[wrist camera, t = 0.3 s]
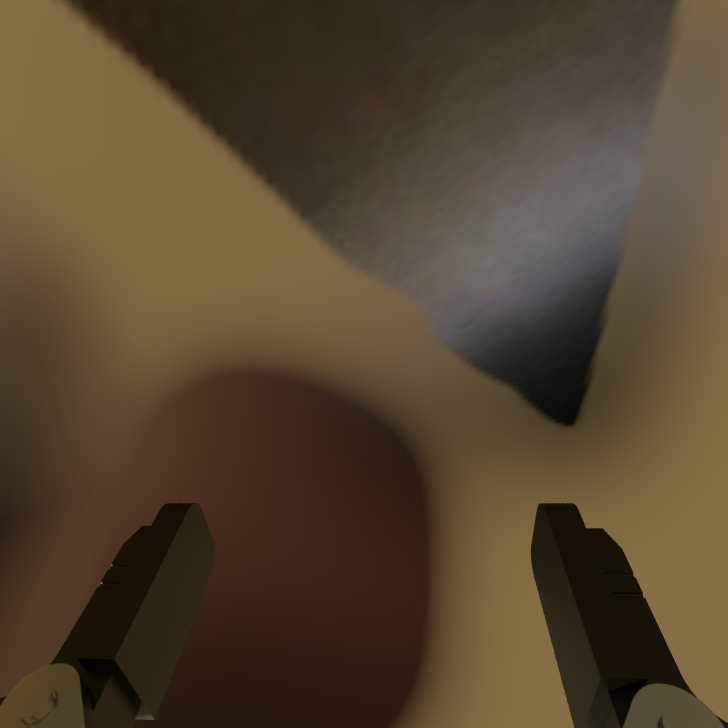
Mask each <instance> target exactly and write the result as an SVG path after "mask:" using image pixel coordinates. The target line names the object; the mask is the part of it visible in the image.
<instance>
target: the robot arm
mask: <svg viewBox="0 0 728 728" xmlns="http://www.w3.org/2000/svg"><path fill="white" fill-rule="evenodd" d="M214 561H215V544H214V541H213V538H212V535H211V533H210V530H209V527H208V524H207V522H206V519H205V517H204V514H203V511H202V508H201V506H200V505H199V504H198V503H167V504H165V505H164V506H162V508H161V509H160V511H159V513H158V514H157V516H156V518H155V520H154V522H153V523H152V525H151V526H142V527H141V528H140V529H139V530H138V531H137V532H135V534H133V535H132V536H131V537H130V538H129V539H128V540H127V541H126V542H125V543H124V544H123V546H122V547H121V549H120V551H119V552H118V554H117V556H116V557H115V559H114V561H113V562H112V564H111V568H110V569H108V571H107V572H106V574H105V576H104V577H103V579H102V581H101V582H100V583H101V585H100V587H98V588H97V589H96V591H95V593H94V594H93V596H92V597H91V599H90V601H89V603H88V604H87V606H86V607H85V609H84V611H83V612H82V614H81V616H80V618H79V619H78V621H77V622H76V624H75V626H74V628H73V629H72V631H71V633H70V634H69V636H68V637H67V639H66V641H65V643H64V644H63V646H62V647H61V649H60V651H59V652H58V654H57V656H56V657H55V659H54V660H53V661H52V662H51V664H50V665H48V666H45V667H43V668H40V669H39V670H36V671H35V672H33V673H32V674H30V675H28V676H27V677H26V678H24V679H23V680H22V681H21V682H20V683H19V684H18V685H16V686H15V687H14V688H13V690H12V691H11V692H10V693H9V694H8V696H6V697H3V698H0V728H131V727H132V725H133V723H134V720H135V719H145V720H155V717H156V715H157V712H158V710H159V707H160V704H161V702H162V699H163V697H164V694H165V691H166V689H167V686H168V684H169V681H170V678H171V676H172V673H173V671H174V668H175V665H176V663H177V660H178V658H179V655H180V653H181V650H182V647H183V645H184V642H185V640H186V637H187V634H188V632H189V629H190V627H191V624H192V621H193V619H194V616H195V614H196V611H197V608H198V606H199V603H200V600H201V598H202V595H203V593H204V590H205V587H206V585H207V582H208V580H209V577H210V575H211V572H212V569H213V566H214ZM531 562H532V569H533V574H534V578H535V581H536V585H537V589H538V593H539V597H540V600H541V604H542V608H543V612H544V615H545V619H546V623H547V627H548V630H549V634H550V638H551V642H552V645H553V649H554V653H555V657H556V660H557V664H558V668H559V672H560V675H561V679H562V683H563V686H564V690H565V694H566V698H567V702H568V705H569V709H570V713H571V717H572V720H573V723H574V728H728V723H727V722H725V721H723V720H722V719H720V718H719V717H718V716H716V715H715V714H714V713H713V712H712V711H711V710H710V709H709V708H708V707H707V706H706V705H705V704H704V703H703V702H701V701H700V700H699V699H698V698H697V697H696V696H695V695H694V694H693V692H692V691H691V690H690V688H689V687H688V685H687V684H686V683H685V681H684V679H683V677H682V675H681V674H680V671H679V669H678V667H677V665H676V663H675V660H674V658H673V656H672V654H671V652H670V650H669V648H668V646H667V643H666V641H665V639H664V637H663V635H662V633H661V631H660V628H659V626H658V624H657V622H656V620H655V618H654V616H653V614H652V612H651V609H650V607H649V605H648V603H647V601H646V599H645V598H644V597H643V592H642V590H641V588H640V586H639V584H638V582H637V580H636V578H634V576H633V571H632V569H631V567H630V565H629V563H628V560H627V558H626V556H625V554H624V552H623V550H622V548H621V547H620V546H619V545H618V544H617V543H616V542H615V541H614V540H613V539H612V538H611V537H610V536H609V535H608V534H607V533H606V532H605V531H604V529H600V528H595V529H594V528H592V529H591V528H590V529H589V528H588V529H587V528H586V527H585V524H584V522H583V519H582V517H581V515H580V513H579V510H578V508H577V506H576V505H575V504H573V503H567V504H566V503H547V504H546V503H543V504H542V503H540V504H539V505H538V508H537V513H536V519H535V526H534V531H533V538H532V544H531Z"/></svg>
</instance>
